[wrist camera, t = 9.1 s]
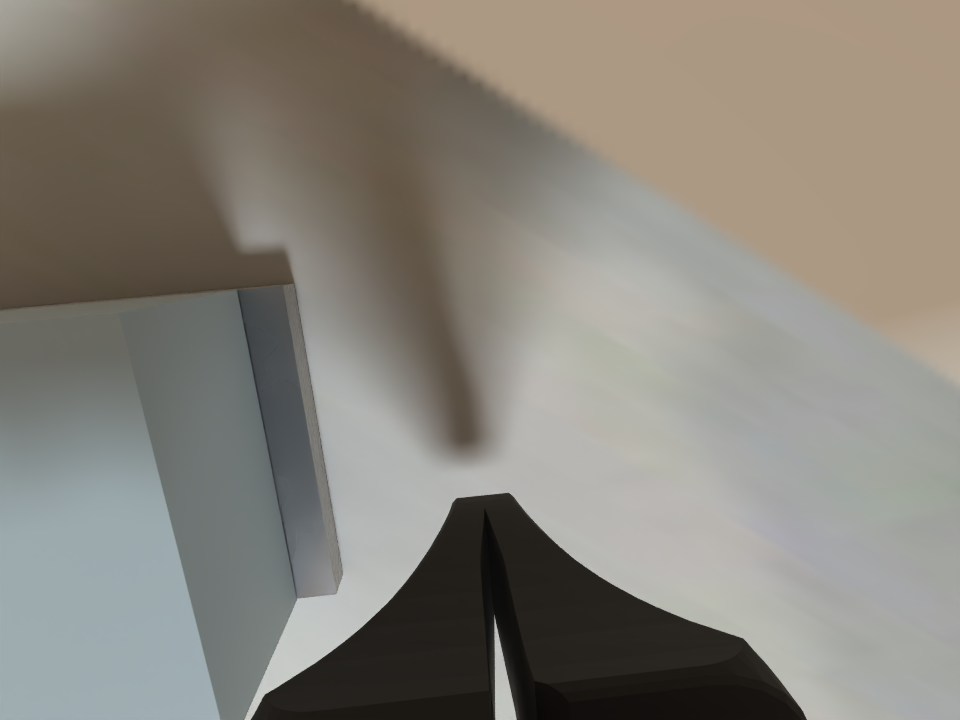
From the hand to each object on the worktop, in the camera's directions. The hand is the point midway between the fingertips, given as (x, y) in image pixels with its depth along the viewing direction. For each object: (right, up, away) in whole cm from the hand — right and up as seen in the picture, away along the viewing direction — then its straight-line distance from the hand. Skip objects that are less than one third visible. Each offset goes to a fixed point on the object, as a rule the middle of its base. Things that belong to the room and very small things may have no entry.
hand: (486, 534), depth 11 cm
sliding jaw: (-9, +2, +1) cm, 9 cm away
